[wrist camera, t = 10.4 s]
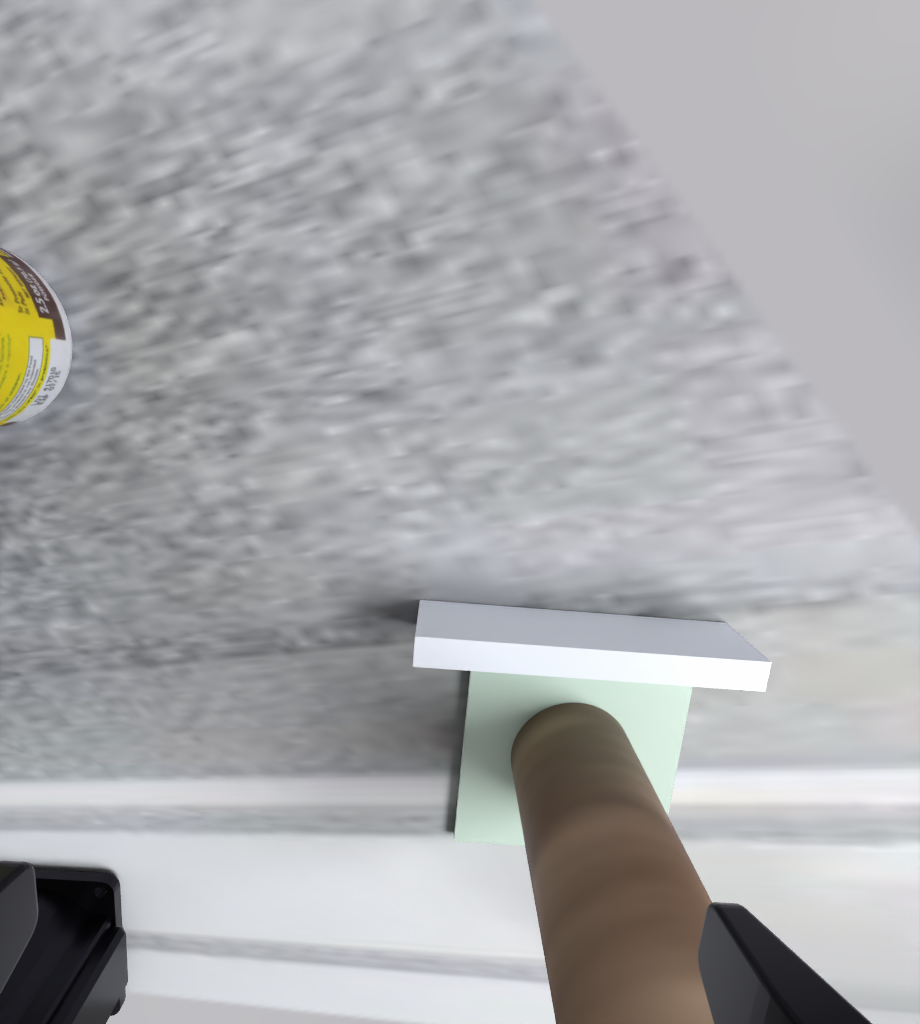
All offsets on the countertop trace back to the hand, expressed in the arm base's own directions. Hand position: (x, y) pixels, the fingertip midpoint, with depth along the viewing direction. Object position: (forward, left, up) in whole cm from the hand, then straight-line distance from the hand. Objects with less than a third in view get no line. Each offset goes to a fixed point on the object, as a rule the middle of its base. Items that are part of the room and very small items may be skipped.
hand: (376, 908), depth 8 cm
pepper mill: (+6, -6, -13) cm, 15 cm away
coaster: (+6, -6, -13) cm, 16 cm away
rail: (+6, -1, -13) cm, 14 cm away
